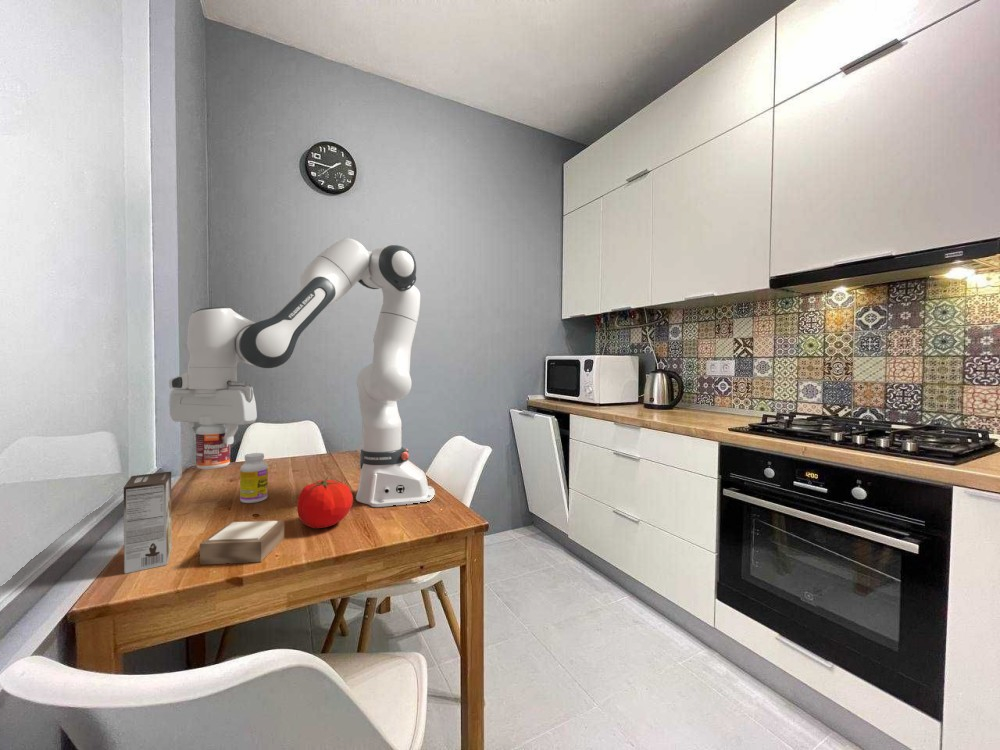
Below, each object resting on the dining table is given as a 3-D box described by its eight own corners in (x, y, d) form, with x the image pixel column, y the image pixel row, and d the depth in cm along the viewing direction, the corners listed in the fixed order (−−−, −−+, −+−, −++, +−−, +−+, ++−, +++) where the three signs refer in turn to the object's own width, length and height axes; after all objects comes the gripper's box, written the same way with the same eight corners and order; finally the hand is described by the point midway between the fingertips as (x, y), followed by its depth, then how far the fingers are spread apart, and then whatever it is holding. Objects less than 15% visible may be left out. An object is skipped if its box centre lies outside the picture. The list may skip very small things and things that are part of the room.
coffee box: (131, 555, 81) (130, 475, 81) (172, 547, 85) (172, 470, 85) (122, 574, 74) (122, 486, 73) (168, 565, 77) (168, 481, 77)
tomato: (302, 516, 103) (302, 475, 103) (354, 512, 106) (354, 472, 106) (290, 538, 90) (291, 490, 90) (350, 532, 94) (350, 487, 93)
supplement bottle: (258, 504, 112) (258, 457, 111) (234, 503, 112) (234, 457, 111) (272, 496, 118) (272, 452, 118) (250, 495, 118) (250, 451, 118)
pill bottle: (203, 471, 86) (203, 417, 86) (190, 466, 89) (190, 415, 89) (235, 465, 91) (235, 414, 91) (222, 461, 94) (222, 412, 94)
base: (284, 538, 90) (284, 519, 90) (261, 562, 79) (261, 540, 79) (230, 540, 89) (230, 520, 89) (199, 564, 78) (199, 542, 78)
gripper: (263, 380, 90) (264, 443, 91) (190, 379, 95) (191, 438, 96) (239, 382, 84) (240, 448, 85) (162, 380, 89) (163, 443, 89)
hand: (213, 443), depth 90 cm, fingers closed on pill bottle, 6 cm apart
